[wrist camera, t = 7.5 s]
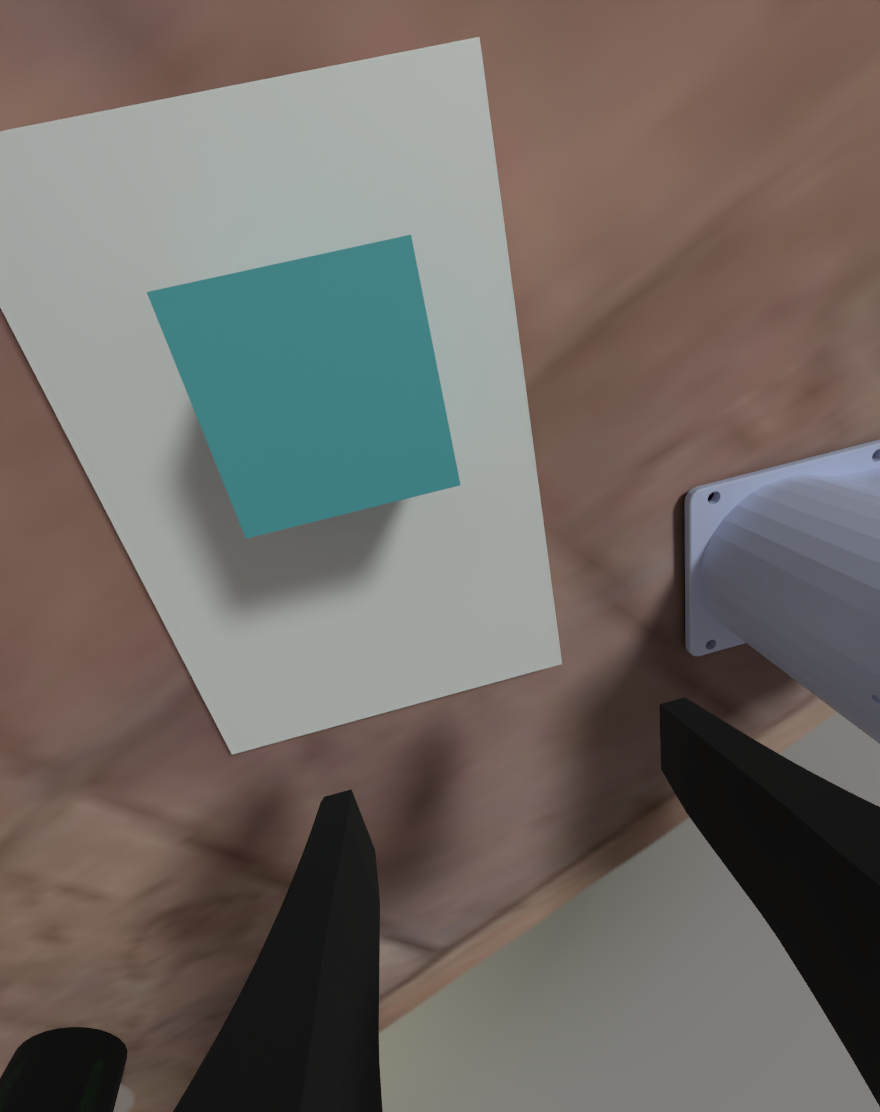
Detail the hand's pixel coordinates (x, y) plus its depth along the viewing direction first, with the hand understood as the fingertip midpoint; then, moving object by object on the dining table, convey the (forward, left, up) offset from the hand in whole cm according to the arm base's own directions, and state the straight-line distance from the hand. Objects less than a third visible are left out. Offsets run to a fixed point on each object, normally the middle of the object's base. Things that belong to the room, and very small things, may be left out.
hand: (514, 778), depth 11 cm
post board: (+3, -6, -9) cm, 12 cm away
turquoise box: (+2, -9, -8) cm, 12 cm away
